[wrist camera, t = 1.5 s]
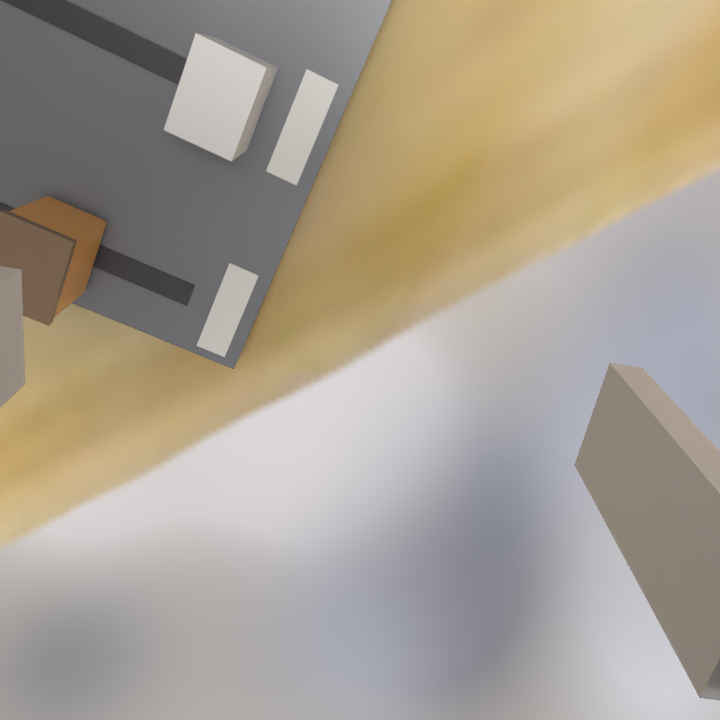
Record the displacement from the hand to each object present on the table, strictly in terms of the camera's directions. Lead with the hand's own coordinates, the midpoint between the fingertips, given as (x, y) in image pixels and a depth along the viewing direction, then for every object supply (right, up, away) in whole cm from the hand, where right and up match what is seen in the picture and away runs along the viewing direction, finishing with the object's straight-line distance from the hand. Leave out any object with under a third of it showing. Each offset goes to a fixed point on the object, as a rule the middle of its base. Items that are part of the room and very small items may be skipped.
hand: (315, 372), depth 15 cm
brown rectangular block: (-14, +6, +19) cm, 24 cm away
